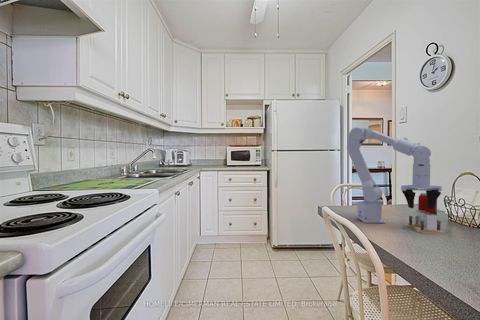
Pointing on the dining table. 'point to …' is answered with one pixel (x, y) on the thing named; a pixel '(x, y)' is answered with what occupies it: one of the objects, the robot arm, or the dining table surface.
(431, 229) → the drive
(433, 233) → the caddy
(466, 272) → the dining table surface
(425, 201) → the beverage can
